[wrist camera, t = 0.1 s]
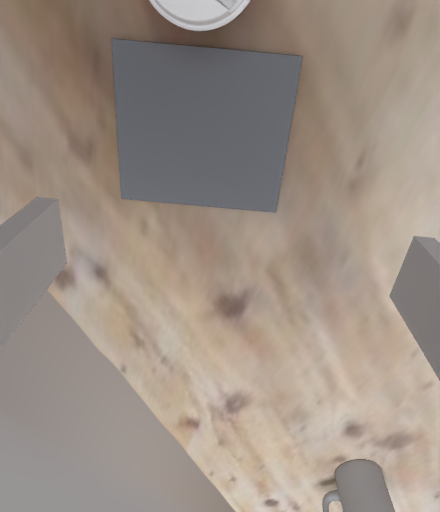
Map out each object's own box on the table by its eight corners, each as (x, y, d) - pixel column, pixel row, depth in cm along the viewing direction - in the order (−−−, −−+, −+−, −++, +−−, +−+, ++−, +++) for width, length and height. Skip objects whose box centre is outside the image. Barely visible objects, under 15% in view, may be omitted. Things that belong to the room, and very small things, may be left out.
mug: (375, 455, 66) (399, 524, 57) (385, 479, 70) (408, 548, 61) (311, 467, 69) (322, 535, 60) (323, 490, 73) (336, 557, 63)
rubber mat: (113, 38, 35) (111, 38, 34) (301, 56, 35) (302, 56, 34) (122, 197, 43) (121, 198, 43) (275, 210, 43) (276, 212, 43)
